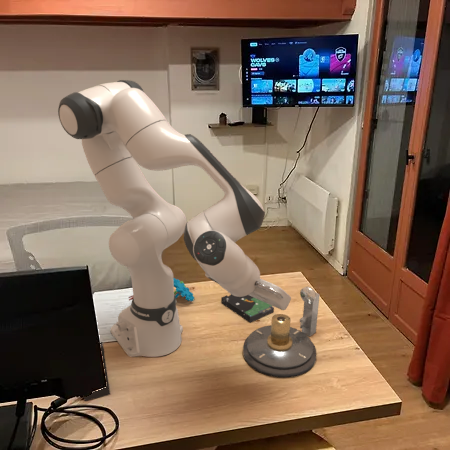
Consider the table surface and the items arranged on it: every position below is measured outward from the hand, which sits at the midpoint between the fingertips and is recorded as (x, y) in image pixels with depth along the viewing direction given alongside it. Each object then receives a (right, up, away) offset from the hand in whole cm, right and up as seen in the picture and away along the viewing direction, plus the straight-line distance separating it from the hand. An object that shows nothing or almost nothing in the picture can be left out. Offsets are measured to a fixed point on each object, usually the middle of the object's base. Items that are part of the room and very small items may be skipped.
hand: (260, 296), depth 113 cm
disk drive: (-2, -10, +34) cm, 36 cm away
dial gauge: (+15, -14, +20) cm, 29 cm away
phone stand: (-41, -22, -1) cm, 47 cm away
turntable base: (+6, -18, +12) cm, 22 cm away
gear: (-23, -7, +39) cm, 46 cm away
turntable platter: (+6, -16, +11) cm, 21 cm away
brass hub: (+6, -15, +11) cm, 19 cm away
